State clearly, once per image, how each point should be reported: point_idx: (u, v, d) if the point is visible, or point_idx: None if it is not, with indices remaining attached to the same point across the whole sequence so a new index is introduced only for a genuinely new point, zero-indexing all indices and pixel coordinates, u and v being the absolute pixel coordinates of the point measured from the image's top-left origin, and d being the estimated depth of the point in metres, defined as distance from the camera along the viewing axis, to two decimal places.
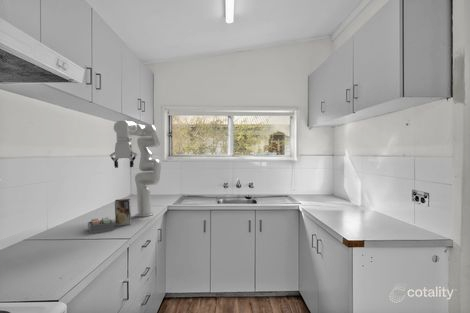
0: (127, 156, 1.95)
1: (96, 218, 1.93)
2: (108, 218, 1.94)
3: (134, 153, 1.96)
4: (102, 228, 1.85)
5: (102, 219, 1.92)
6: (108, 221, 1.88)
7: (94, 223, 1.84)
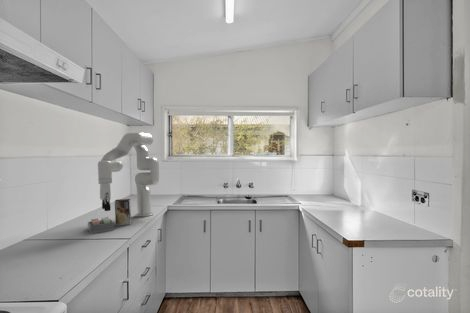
0: None
1: (96, 218, 1.93)
2: (108, 218, 1.94)
3: None
4: (102, 228, 1.85)
5: (102, 219, 1.92)
6: (108, 221, 1.88)
7: (94, 223, 1.84)
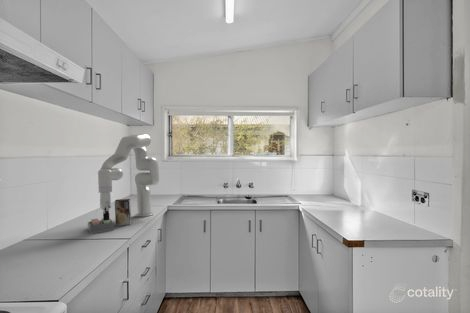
0: None
1: (96, 218, 1.93)
2: None
3: None
4: (102, 228, 1.85)
5: (102, 219, 1.92)
6: (108, 221, 1.88)
7: (94, 223, 1.84)
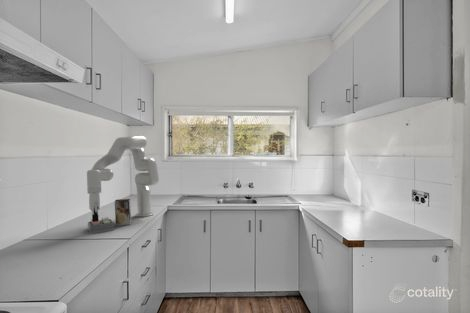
0: None
1: None
2: (108, 218, 1.94)
3: None
4: (102, 228, 1.85)
5: (102, 219, 1.92)
6: None
7: (94, 223, 1.84)
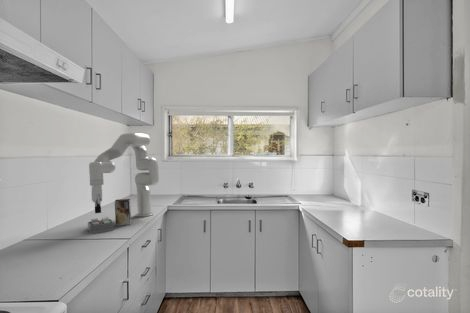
0: None
1: (96, 218, 1.93)
2: (108, 218, 1.94)
3: None
4: (102, 228, 1.85)
5: (102, 219, 1.92)
6: None
7: None
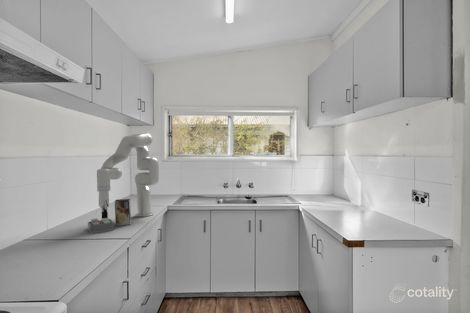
0: None
1: (96, 218, 1.93)
2: (108, 218, 1.94)
3: None
4: (102, 228, 1.85)
5: (102, 219, 1.92)
6: None
7: None
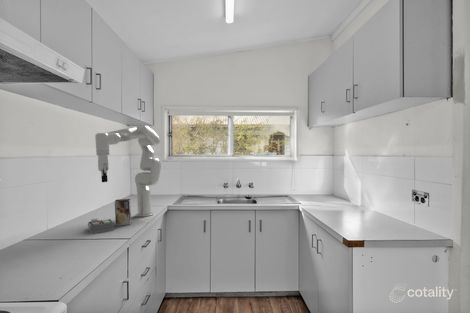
0: None
1: (96, 218, 1.93)
2: (108, 220, 1.94)
3: None
4: (102, 228, 1.85)
5: (102, 221, 1.92)
6: None
7: None
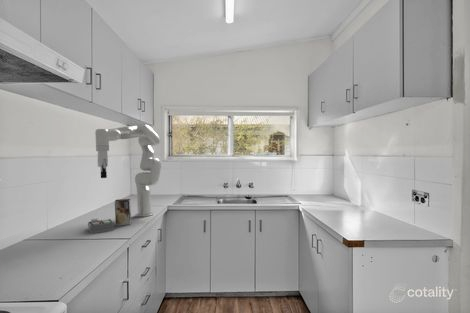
0: None
1: (96, 218, 1.93)
2: (108, 220, 1.94)
3: None
4: (102, 228, 1.85)
5: (102, 221, 1.92)
6: None
7: None
